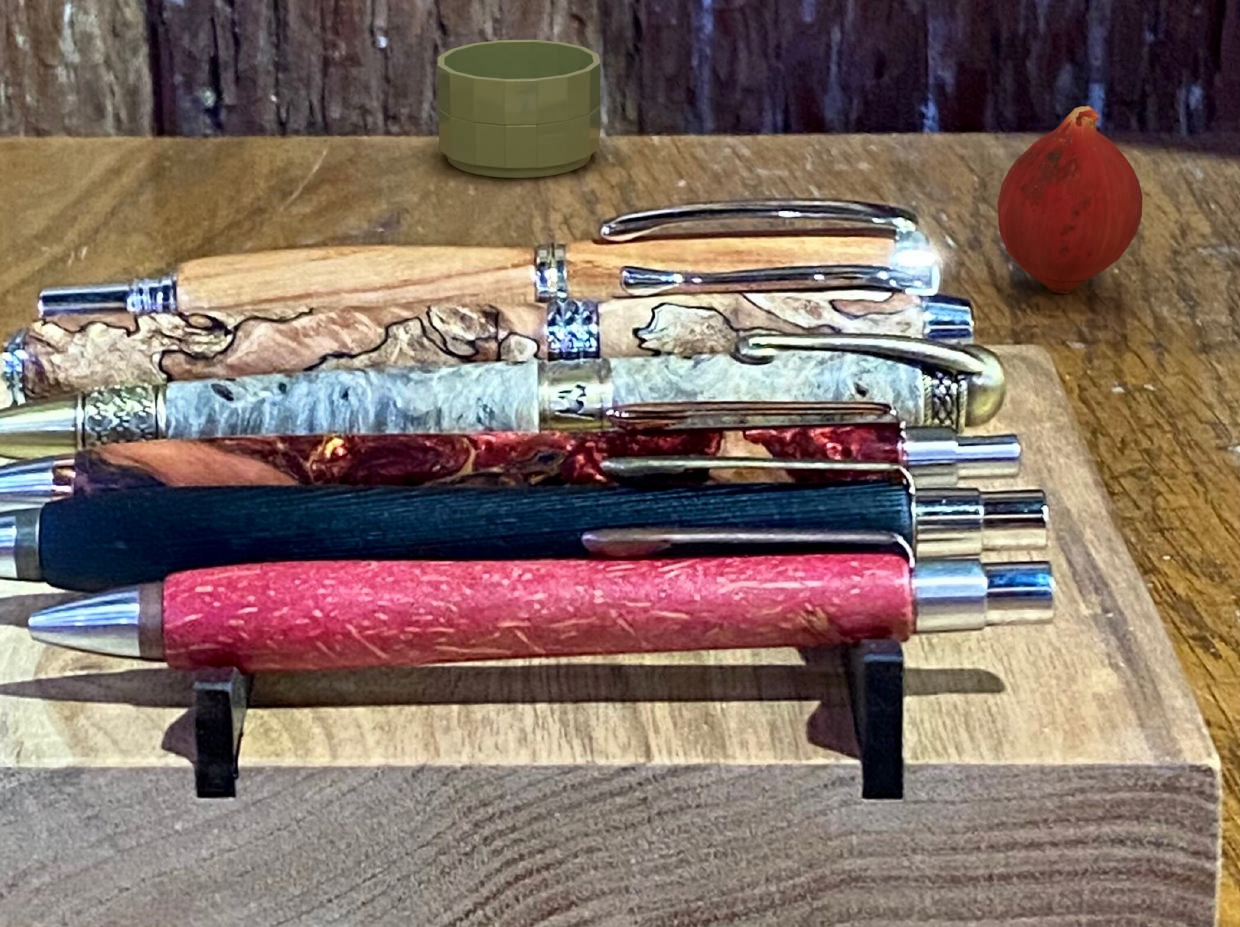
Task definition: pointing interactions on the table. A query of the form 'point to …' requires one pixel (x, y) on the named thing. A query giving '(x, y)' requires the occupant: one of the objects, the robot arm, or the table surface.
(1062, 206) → the onion
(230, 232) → the table surface
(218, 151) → the table surface
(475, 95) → the bowl
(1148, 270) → the table surface
